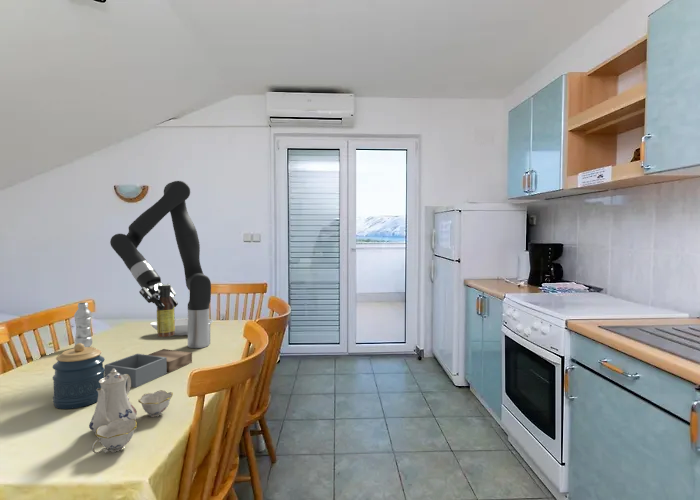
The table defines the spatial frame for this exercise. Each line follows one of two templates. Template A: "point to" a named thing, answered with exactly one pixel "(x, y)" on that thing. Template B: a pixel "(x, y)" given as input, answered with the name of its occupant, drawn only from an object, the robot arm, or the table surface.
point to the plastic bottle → (83, 325)
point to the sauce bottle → (166, 313)
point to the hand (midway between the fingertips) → (169, 307)
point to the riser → (174, 358)
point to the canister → (77, 377)
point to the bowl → (179, 326)
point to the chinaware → (121, 411)
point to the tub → (139, 368)
